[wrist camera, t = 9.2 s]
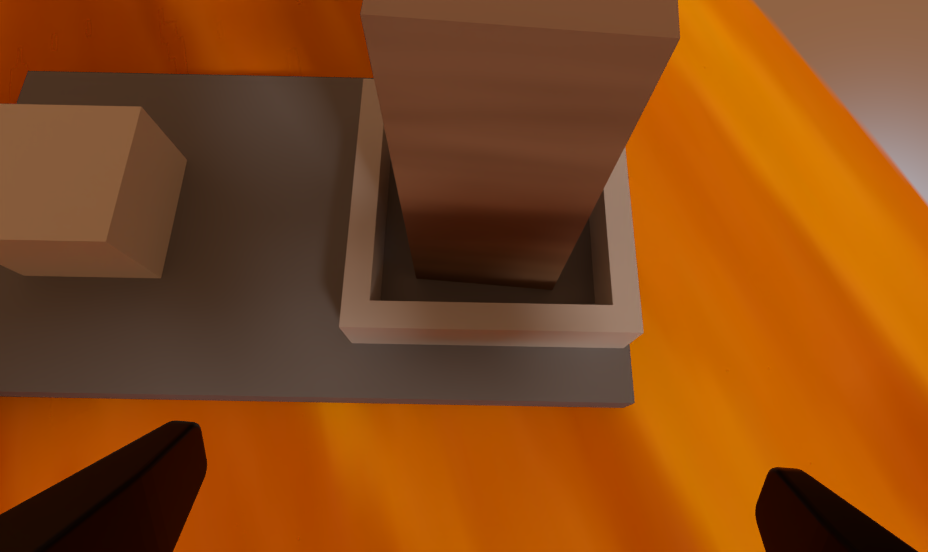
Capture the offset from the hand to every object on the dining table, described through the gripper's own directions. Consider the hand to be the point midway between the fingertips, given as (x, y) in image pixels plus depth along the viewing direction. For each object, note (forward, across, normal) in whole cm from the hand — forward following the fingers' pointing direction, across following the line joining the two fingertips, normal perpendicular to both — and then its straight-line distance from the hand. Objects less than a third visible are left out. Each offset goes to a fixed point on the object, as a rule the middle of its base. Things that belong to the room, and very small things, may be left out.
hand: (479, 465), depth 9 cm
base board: (+12, +6, +1) cm, 13 cm away
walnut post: (+11, 0, 0) cm, 11 cm away
